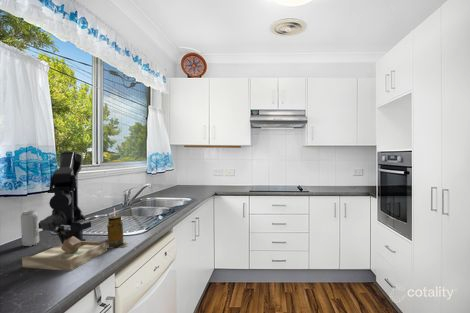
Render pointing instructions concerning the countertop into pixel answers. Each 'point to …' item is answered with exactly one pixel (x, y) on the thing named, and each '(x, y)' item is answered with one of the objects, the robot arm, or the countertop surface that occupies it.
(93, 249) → the box
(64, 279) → the countertop surface
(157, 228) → the countertop surface
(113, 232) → the condiment
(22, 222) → the energy drink can
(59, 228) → the robot arm
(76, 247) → the walnut block
